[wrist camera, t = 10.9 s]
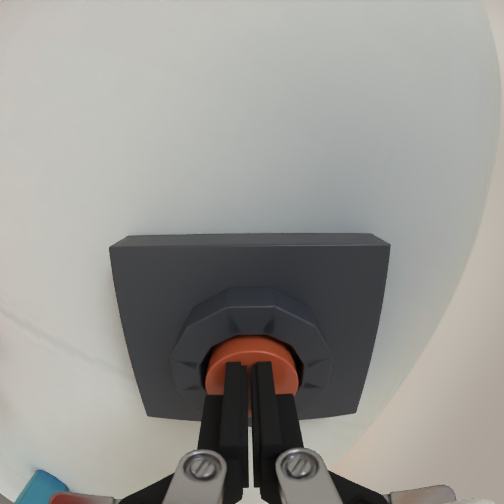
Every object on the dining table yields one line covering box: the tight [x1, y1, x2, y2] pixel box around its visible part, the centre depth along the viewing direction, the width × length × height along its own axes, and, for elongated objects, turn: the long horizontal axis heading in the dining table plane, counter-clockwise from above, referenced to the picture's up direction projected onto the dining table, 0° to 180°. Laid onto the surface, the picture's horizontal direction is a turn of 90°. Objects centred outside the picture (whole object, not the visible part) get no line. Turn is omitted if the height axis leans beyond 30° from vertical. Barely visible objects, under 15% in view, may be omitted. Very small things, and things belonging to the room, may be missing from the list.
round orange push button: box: [205, 335, 299, 417], centre depth 11 cm, size 4×4×2 cm
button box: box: [109, 233, 390, 427], centre depth 13 cm, size 12×10×4 cm
